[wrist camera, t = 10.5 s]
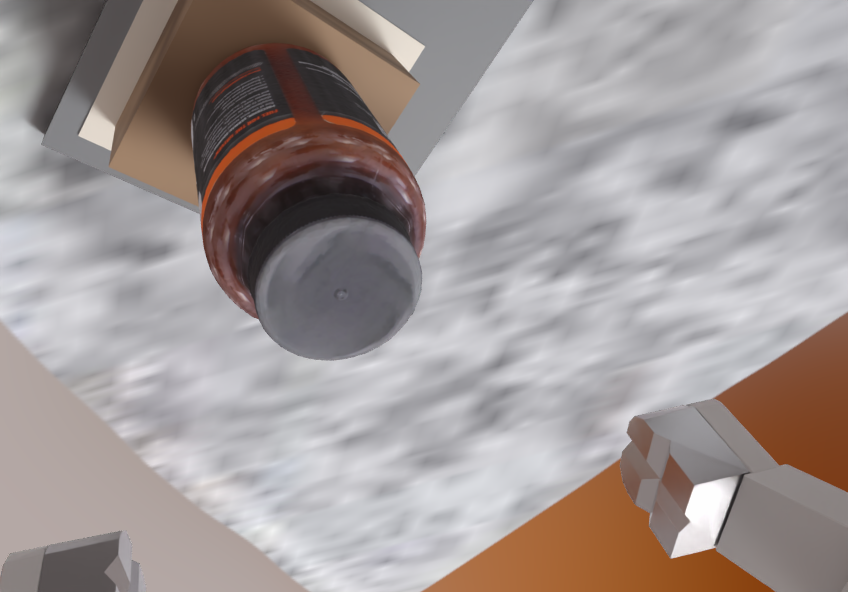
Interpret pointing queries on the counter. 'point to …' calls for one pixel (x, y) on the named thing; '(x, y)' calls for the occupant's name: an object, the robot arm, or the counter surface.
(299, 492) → the counter surface
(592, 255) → the counter surface
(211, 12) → the block
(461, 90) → the build board
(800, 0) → the counter surface
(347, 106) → the supplement bottle
